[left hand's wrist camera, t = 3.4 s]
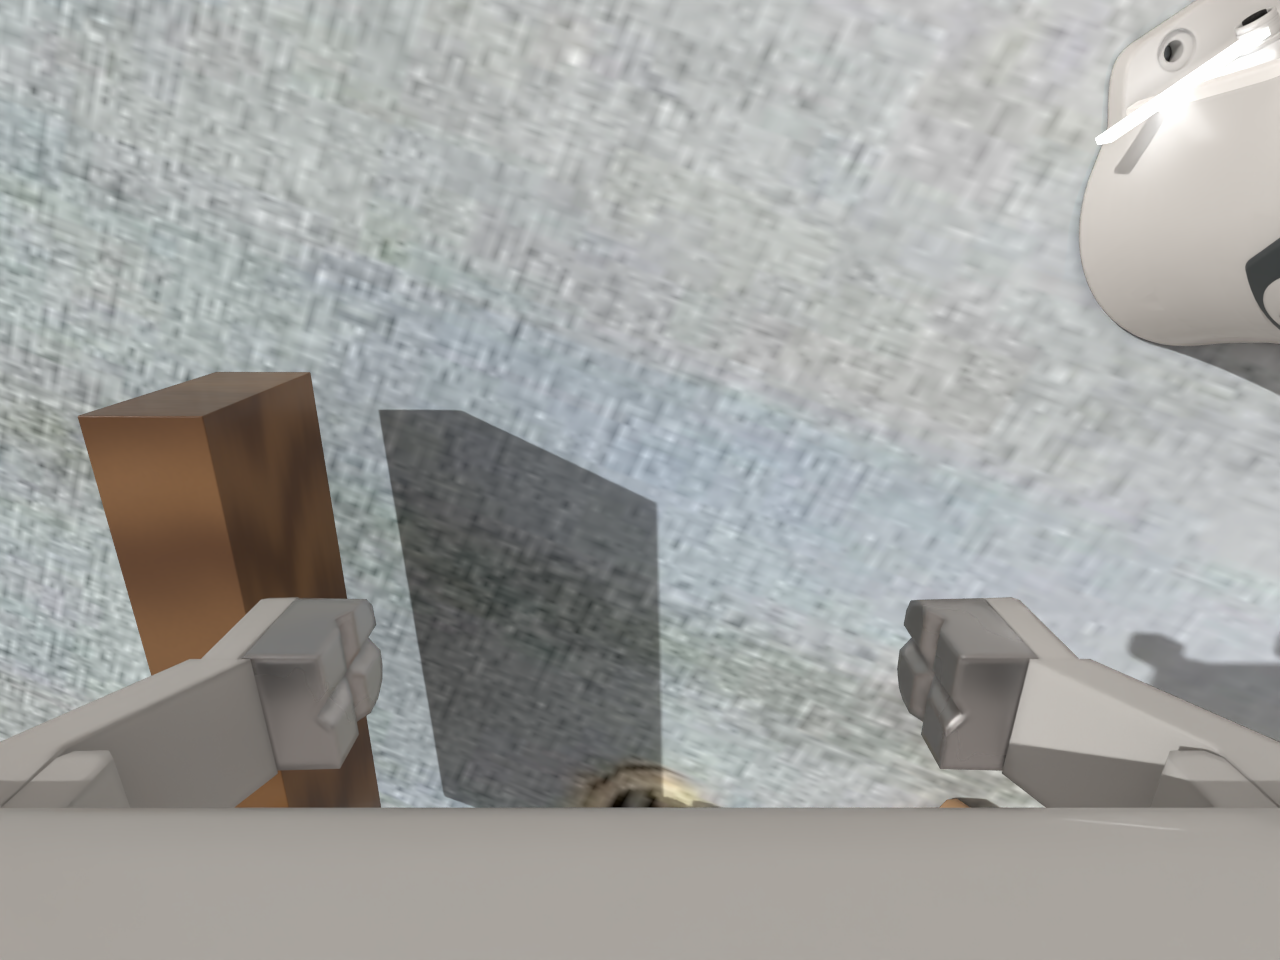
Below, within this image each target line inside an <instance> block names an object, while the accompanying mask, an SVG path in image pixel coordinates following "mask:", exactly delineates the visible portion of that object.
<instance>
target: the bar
mask: <svg viewBox="0 0 1280 960" xmlns="http://www.w3.org/2000/svg"><path fill="white" fill-rule="evenodd" d="M78 419H79V423H80V426H81V430H82V433H83V437H84V440H85V444H86V447H87V451H88V454H89V458H90V461H91V465H92V468H93V472H94V475H95V479H96V482H97V486H98V490H99V493H100V497H101V500H102V504H103V507H104V511H105V514H106V518H107V521H108V525H109V528H110V532H111V535H112V539H113V542H114V546H115V549H116V553H117V556H118V560H119V563H120V567H121V570H122V574H123V577H124V581H125V584H126V588H127V591H128V595H129V598H130V602H131V605H132V609H133V612H134V616H135V619H136V623H137V626H138V630H139V634H140V637H141V641H142V644H143V648H144V651H145V655H146V658H147V662H148V665H149V669H150V672H151V676H152V675H154V674H157V673H159V672H161V671H164V670H166V669H168V668H170V667H173V666H175V665H177V664H180V663H182V662H184V661H187V660H189V659H201V658H202V657H203V656H204V655H205V654H206V653H207V652H208V651H210V650H211V649H212V648H213V647H214V646H215V645H216V644H217V643H218V642H219V641H220V640H221V639H222V638H223V637H224V636H225V635H226V634H227V633H228V632H229V631H230V630H231V629H232V628H233V627H234V626H235V625H236V624H237V623H238V622H239V621H240V620H241V619H242V618H243V617H244V616H245V615H246V614H247V613H248V612H249V611H250V610H251V609H252V608H253V607H254V606H255V605H256V604H257V603H258V602H259V601H260V600H261V599H267V598H291V597H298V598H300V599H301V598H331V599H347V595H346V589H345V583H344V577H343V570H342V564H341V558H340V552H339V546H338V540H337V534H336V527H335V521H334V515H333V509H332V503H331V497H330V491H329V484H328V478H327V472H326V466H325V460H324V454H323V448H322V441H321V435H320V429H319V423H318V417H317V411H316V405H315V398H314V392H313V386H312V380H311V374H310V372H215V373H212V374H208V375H205V376H202V377H199V378H196V379H193V380H190V381H186V382H183V383H180V384H177V385H174V386H171V387H167V388H164V389H161V390H158V391H155V392H152V393H149V394H145V395H142V396H139V397H136V398H133V399H130V400H127V401H123V402H120V403H117V404H114V405H111V406H108V407H104V408H101V409H98V410H95V411H92V412H89V413H86V414H82V415H79V416H78ZM357 726H358V732H359V735H358V737H357V739H356V741H355V742H354V744H353V746H352V748H351V750H350V751H349V753H348V755H347V757H346V759H345V760H344V762H343V764H342V766H341V768H340V769H312V770H277V771H278V774H277V775H275V776H274V777H273V778H272V779H270V780H269V781H268V782H266V783H265V784H264V785H263V786H261V787H260V788H259V789H257V790H256V791H255V792H254V793H252V794H251V795H250V796H248V797H247V798H246V799H245V800H243V801H242V802H241V803H239V804H238V805H237V806H236V807H234V808H381V804H380V798H379V792H378V786H377V779H376V773H375V767H374V761H373V755H372V749H371V743H370V736H369V730H368V724H367V718H366V716H365V717H363V718H362V719H360V720H359V721H357Z"/></svg>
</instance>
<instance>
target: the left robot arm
mask: <svg viewBox="0 0 1280 960" xmlns="http://www.w3.org/2000/svg"><path fill="white" fill-rule="evenodd" d="M1167 45H1169V46H1170V47H1171V49H1172V55H1171V58H1170V59H1169V61H1167V60H1166V59H1165V57H1164V50H1165V48H1166V46H1167ZM1095 139H1096V142H1097V144H1102V147H1101V149H1100V152H1099V154H1098V157H1097V159H1096V161H1095V164H1094V166H1093V169H1092V172H1091V174H1090V177H1089V180H1088V183H1087V186H1086V190H1085V193H1084V197H1083V202H1082V207H1081V214H1080V222H1079V248H1080V257H1081V263H1082V267H1083V271H1084V274H1085V277H1086V280H1087V283H1088V285H1089V287H1090V290H1091V292H1092V294H1093V295H1094V297H1095V299H1096V301H1097V302H1098V304H1099V305H1100V306H1101V308H1102V309H1103V310H1104V311H1105V313H1106V314H1107V315H1108V316H1109V317H1110V318H1111V319H1112V320H1113V321H1115V322H1116V323H1117V324H1118V325H1119V326H1121V327H1122V328H1124V329H1125V330H1127V331H1128V332H1130V333H1132V334H1134V335H1136V336H1138V337H1140V338H1142V339H1145V340H1148V341H1151V342H1155V343H1159V344H1164V345H1171V346H1199V345H1209V344H1219V343H1275V344H1280V0H1196V1H1194V2H1193V3H1191V4H1190V5H1188V6H1187V7H1185V8H1184V9H1182V10H1181V11H1179V12H1178V13H1176V14H1175V15H1173V16H1172V17H1170V18H1169V19H1167V20H1166V21H1164V22H1163V23H1161V24H1160V25H1158V26H1157V27H1155V28H1154V29H1152V30H1151V31H1149V32H1148V33H1146V34H1145V35H1143V36H1142V37H1140V38H1139V39H1137V40H1136V41H1134V42H1133V43H1131V44H1130V45H1129V46H1127V47H1126V48H1125V49H1124V50H1123V51H1122V52H1121V53H1120V55H1119V56H1118V57H1117V59H1116V61H1115V63H1114V66H1113V68H1112V72H1111V77H1110V82H1109V93H1108V126H1107V130H1106V131H1105V132H1104V133H1103V134H1101V135H1100V136H1098V137H1097V138H1095ZM375 626H376V621H375V616H374V611H373V606H372V605H371V604H370V603H369V601H368V600H367V599H331V598H301V599H300V598H298V597H291V598H267V599H261V600H260V601H259V602H258V603H257V604H256V605H255V606H254V607H253V608H252V609H251V610H250V611H249V612H248V613H247V614H246V615H245V616H244V617H243V618H242V619H241V620H240V621H239V622H238V623H237V624H236V625H235V626H234V627H233V628H232V629H231V630H230V631H229V632H228V633H227V634H226V635H225V636H224V637H223V638H222V639H221V640H220V641H219V642H218V643H217V644H216V645H215V646H214V647H213V648H212V649H211V650H210V651H208V652H207V653H206V654H205V655H204V656H203V657H202V658H201V659H189V660H187V661H184V662H182V663H180V664H177V665H175V666H173V667H170V668H168V669H166V670H164V671H161V672H159V673H157V674H154V675H152V676H150V677H148V678H145V679H143V680H141V681H138V682H136V683H134V684H132V685H129V686H127V687H125V688H122V689H120V690H118V691H116V692H113V693H111V694H109V695H106V696H104V697H102V698H100V699H97V700H95V701H93V702H90V703H88V704H86V705H84V706H81V707H79V708H77V709H74V710H72V711H70V712H68V713H65V714H63V715H61V716H58V717H56V718H54V719H51V720H49V721H47V722H45V723H42V724H40V725H38V726H35V727H33V728H31V729H29V730H26V731H24V732H22V733H19V734H17V735H15V736H13V737H10V738H8V739H6V740H3V741H1V742H0V960H1280V742H1278V741H1276V740H1274V739H1271V738H1269V737H1267V736H1265V735H1262V734H1260V733H1258V732H1256V731H1253V730H1251V729H1249V728H1246V727H1244V726H1242V725H1240V724H1237V723H1235V722H1233V721H1230V720H1228V719H1226V718H1224V717H1221V716H1219V715H1217V714H1214V713H1212V712H1210V711H1208V710H1205V709H1203V708H1201V707H1198V706H1196V705H1194V704H1192V703H1189V702H1187V701H1185V700H1182V699H1180V698H1178V697H1176V696H1173V695H1171V694H1169V693H1167V692H1164V691H1162V690H1160V689H1157V688H1155V687H1153V686H1151V685H1148V684H1146V683H1144V682H1141V681H1139V680H1137V679H1135V678H1132V677H1130V676H1128V675H1125V674H1123V673H1121V672H1119V671H1116V670H1114V669H1112V668H1109V667H1107V666H1105V665H1103V664H1100V663H1098V662H1096V661H1093V660H1091V659H1079V658H1078V657H1077V656H1076V655H1075V654H1074V653H1073V652H1072V651H1071V650H1070V649H1069V648H1068V647H1067V646H1066V645H1065V644H1064V643H1062V642H1061V641H1060V640H1059V639H1058V638H1057V637H1056V636H1055V635H1054V634H1053V633H1052V632H1051V631H1050V630H1049V629H1048V628H1047V627H1046V626H1045V625H1044V624H1043V623H1042V622H1041V621H1040V620H1039V619H1038V618H1037V617H1036V616H1035V615H1034V614H1033V613H1032V612H1031V611H1030V610H1029V609H1028V608H1027V607H1026V606H1025V605H1024V604H1023V603H1022V602H1021V601H1020V600H1018V599H1015V598H1012V597H1003V598H972V599H931V600H911V601H910V603H909V606H908V608H907V610H906V615H905V621H904V626H905V628H906V629H907V631H908V632H909V634H910V635H911V637H912V638H911V639H910V640H909V641H908V642H907V643H906V644H905V645H904V646H903V647H902V648H901V649H900V652H899V660H898V668H897V671H898V682H899V689H900V692H901V696H902V699H903V702H904V704H905V705H906V707H907V709H908V711H909V713H910V714H912V715H913V716H915V717H917V718H918V719H920V720H921V721H923V726H922V732H921V735H922V737H923V739H924V741H925V742H926V744H927V746H928V748H929V750H930V751H931V753H932V755H933V757H934V759H935V760H936V762H937V764H938V766H939V768H940V769H966V770H1003V771H1002V774H1004V775H1005V776H1006V777H1007V778H1009V779H1010V780H1011V781H1013V782H1014V783H1015V784H1016V785H1018V786H1019V787H1020V788H1022V789H1023V790H1024V791H1025V792H1027V793H1028V794H1029V795H1031V796H1032V797H1033V798H1034V799H1036V800H1037V801H1038V802H1040V803H1041V804H1042V805H1043V806H1045V807H1046V808H234V807H236V806H237V805H238V804H239V803H241V802H242V801H243V800H245V799H246V798H247V797H248V796H250V795H251V794H252V793H254V792H255V791H256V790H257V789H259V788H260V787H261V786H263V785H264V784H265V783H266V782H268V781H269V780H270V779H272V778H273V777H274V776H275V775H277V774H278V771H277V770H312V769H340V768H341V766H342V764H343V762H344V760H345V759H346V757H347V755H348V753H349V751H350V750H351V748H352V746H353V744H354V742H355V741H356V739H357V737H358V735H359V732H358V726H357V721H359V720H360V719H362V718H363V717H365V716H367V715H368V714H370V713H371V711H372V709H373V707H374V705H375V703H376V701H377V700H378V696H379V692H380V687H381V683H382V658H381V651H380V649H379V648H378V647H377V646H376V645H375V644H374V643H373V642H372V641H371V640H370V639H369V638H368V637H369V635H370V634H371V632H372V631H373V629H374V628H375Z"/></svg>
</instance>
